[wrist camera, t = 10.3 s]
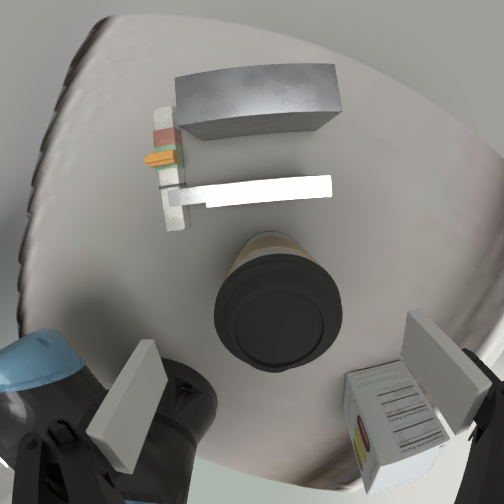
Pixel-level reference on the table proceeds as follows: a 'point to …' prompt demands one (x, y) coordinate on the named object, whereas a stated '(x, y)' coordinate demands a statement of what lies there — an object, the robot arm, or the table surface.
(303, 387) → the table surface
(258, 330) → the coffee cup
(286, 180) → the light grey slab
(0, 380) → the robot arm
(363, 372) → the supplement box
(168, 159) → the orange stepped block
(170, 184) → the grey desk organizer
